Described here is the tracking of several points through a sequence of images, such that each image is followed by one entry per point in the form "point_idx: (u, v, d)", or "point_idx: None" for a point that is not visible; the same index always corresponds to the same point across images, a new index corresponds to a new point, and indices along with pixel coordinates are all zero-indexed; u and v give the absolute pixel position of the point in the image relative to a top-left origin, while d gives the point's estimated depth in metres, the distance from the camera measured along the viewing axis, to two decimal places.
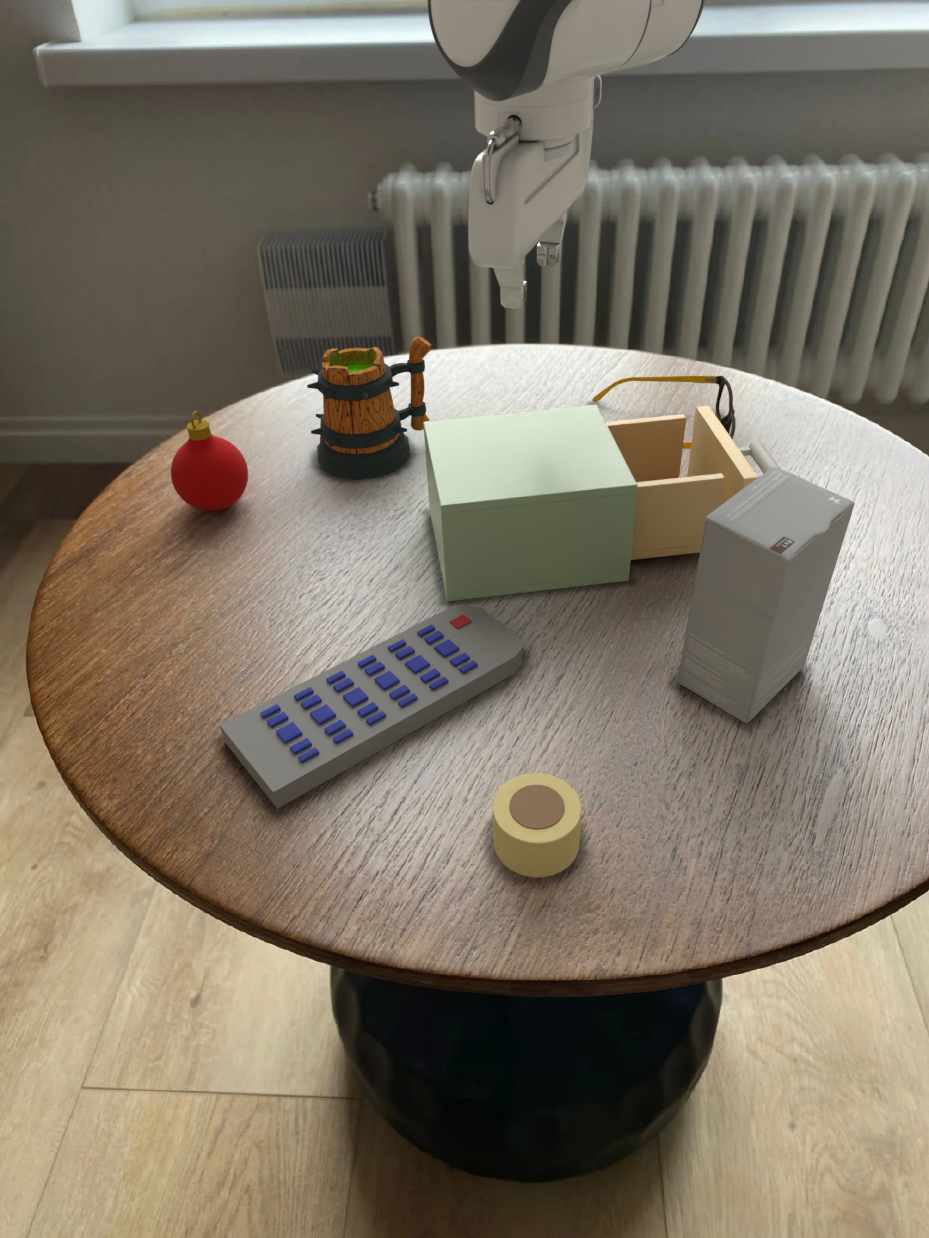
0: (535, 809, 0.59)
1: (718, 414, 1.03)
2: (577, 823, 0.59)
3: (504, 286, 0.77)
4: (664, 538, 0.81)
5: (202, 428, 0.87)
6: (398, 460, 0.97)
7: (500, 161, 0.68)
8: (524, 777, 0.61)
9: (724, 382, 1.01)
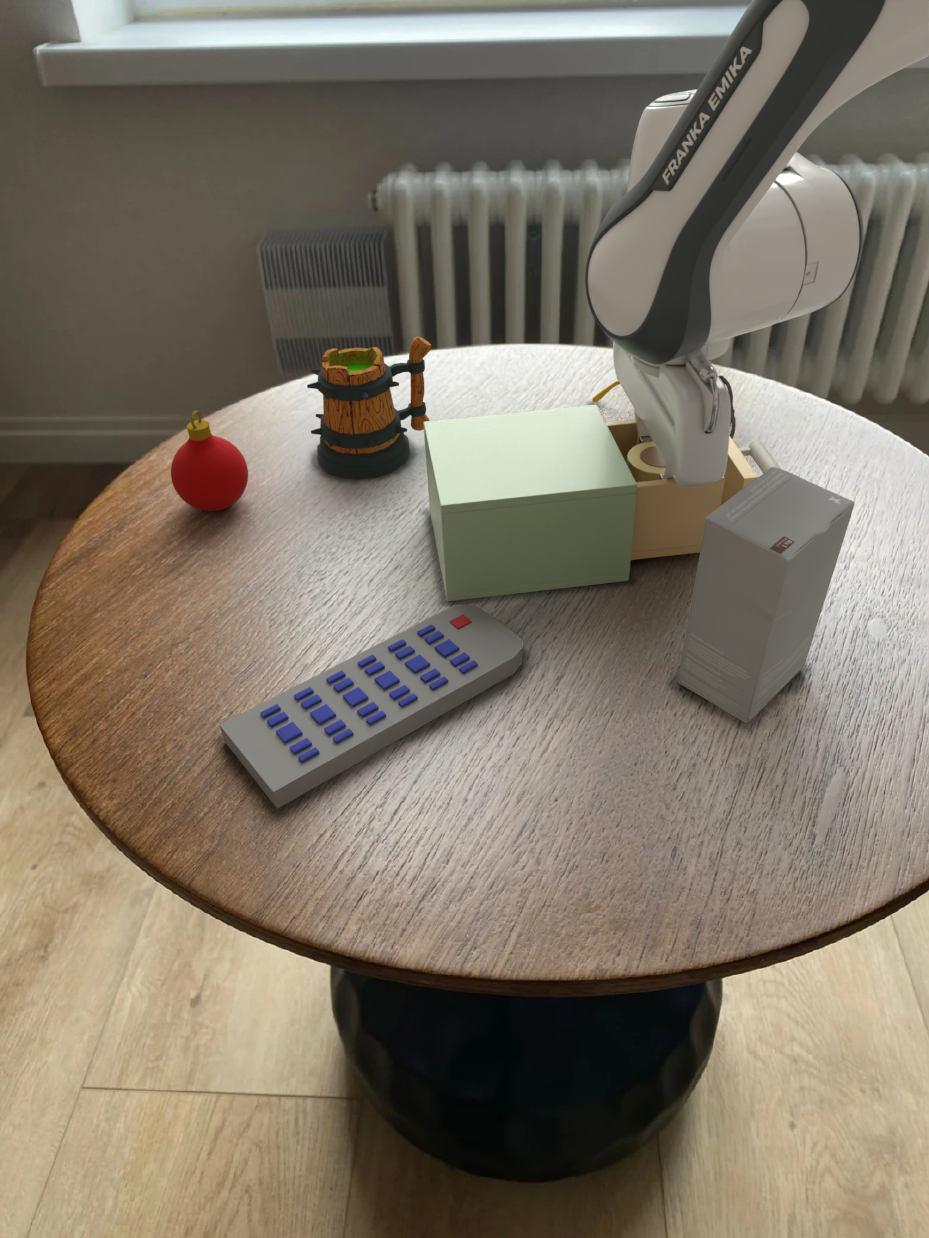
0: (659, 458, 0.82)
1: None
2: None
3: None
4: (664, 538, 0.81)
5: (202, 428, 0.87)
6: (398, 460, 0.97)
7: None
8: (648, 443, 0.84)
9: (724, 382, 1.01)
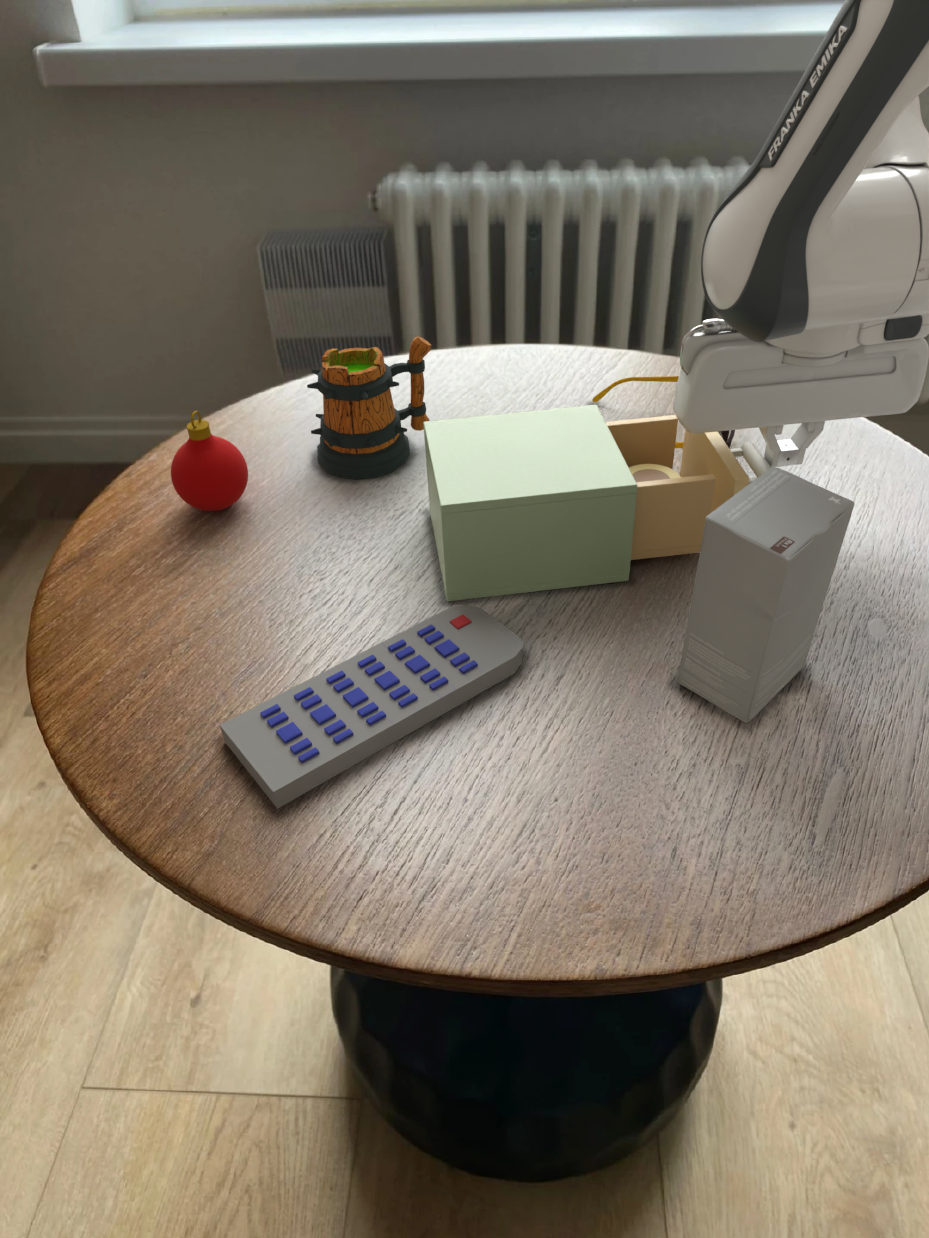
0: None
1: None
2: None
3: (767, 443, 0.84)
4: (655, 539, 0.81)
5: (202, 428, 0.87)
6: (398, 460, 0.97)
7: (705, 345, 0.76)
8: (639, 466, 0.86)
9: None
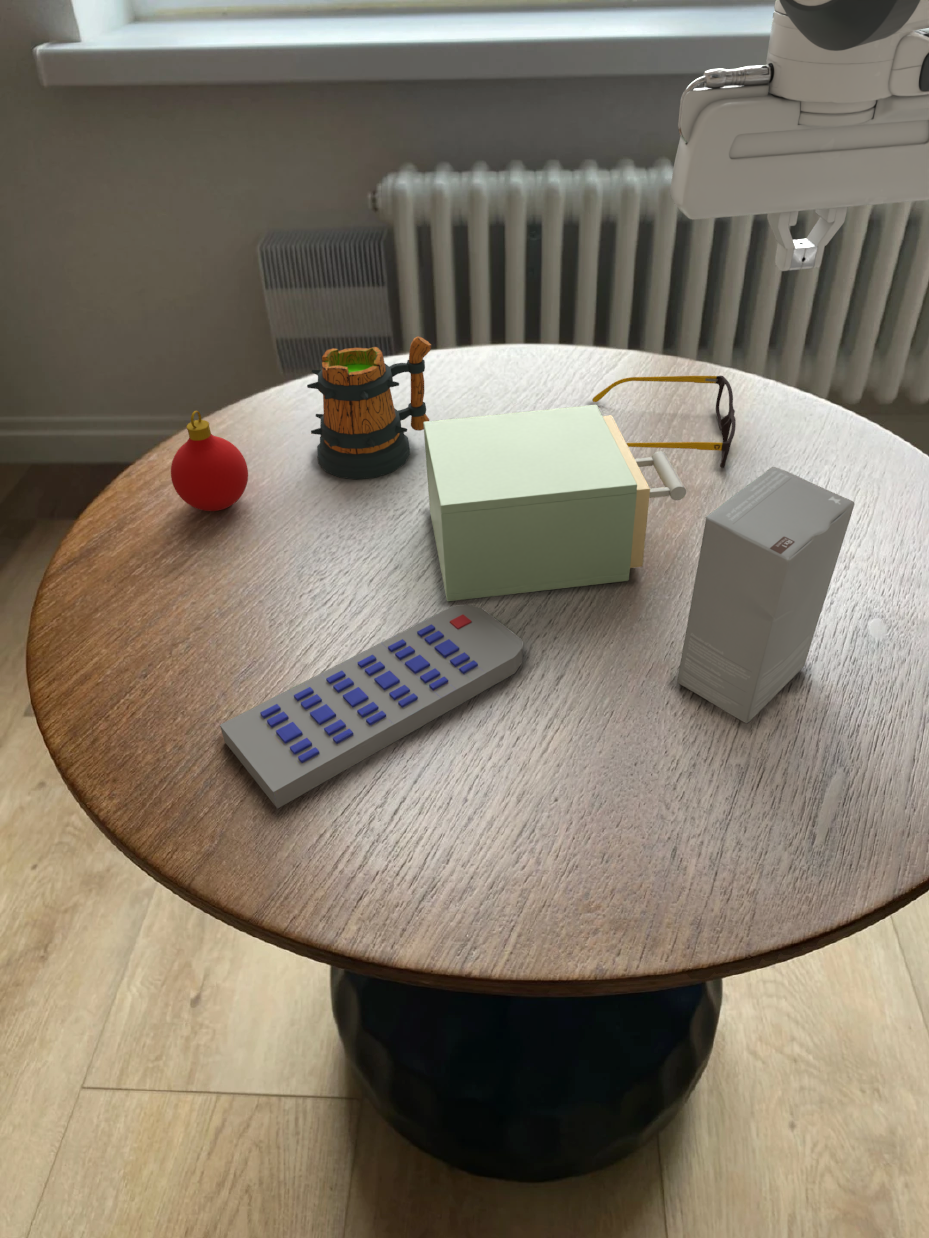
0: None
1: (718, 414, 1.03)
2: None
3: (779, 242, 0.72)
4: None
5: (202, 428, 0.87)
6: (398, 460, 0.97)
7: (707, 103, 0.65)
8: None
9: (724, 382, 1.01)
